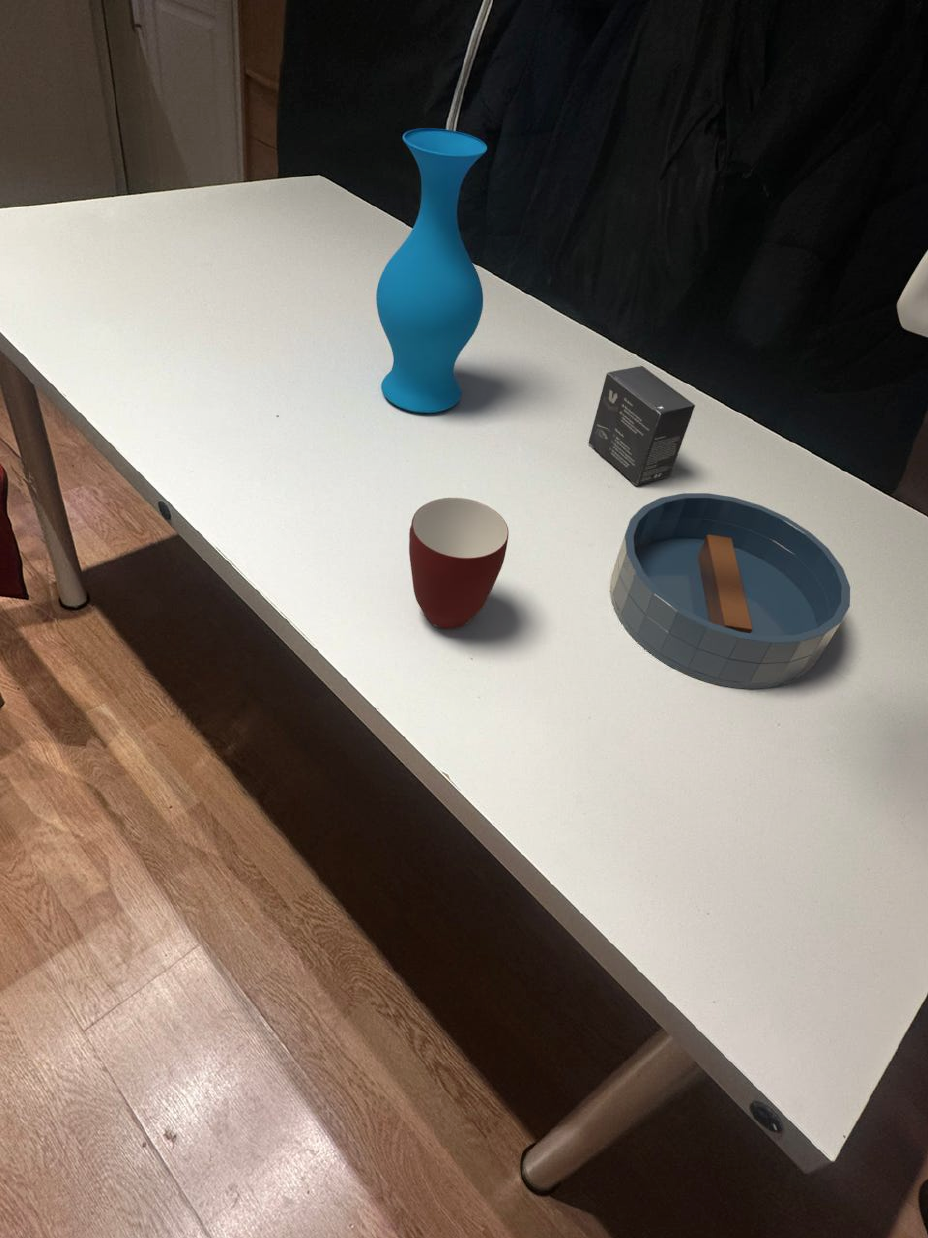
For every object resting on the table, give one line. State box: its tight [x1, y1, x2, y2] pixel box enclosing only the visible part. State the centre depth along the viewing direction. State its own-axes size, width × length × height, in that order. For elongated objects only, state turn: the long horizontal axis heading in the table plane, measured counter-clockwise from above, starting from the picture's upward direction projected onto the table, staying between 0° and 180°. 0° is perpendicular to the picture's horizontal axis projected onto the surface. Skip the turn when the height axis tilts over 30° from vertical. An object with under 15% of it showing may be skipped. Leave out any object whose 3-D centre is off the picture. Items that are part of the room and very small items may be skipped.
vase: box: [375, 127, 488, 414], centre depth 91 cm, size 12×13×28 cm
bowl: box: [609, 492, 851, 690], centre depth 77 cm, size 21×21×6 cm
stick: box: [698, 534, 752, 633], centre depth 78 cm, size 13×2×3 cm, turn 175°
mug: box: [408, 497, 509, 630], centre depth 71 cm, size 10×8×10 cm
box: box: [587, 365, 696, 486], centre depth 93 cm, size 9×6×10 cm, turn 31°
